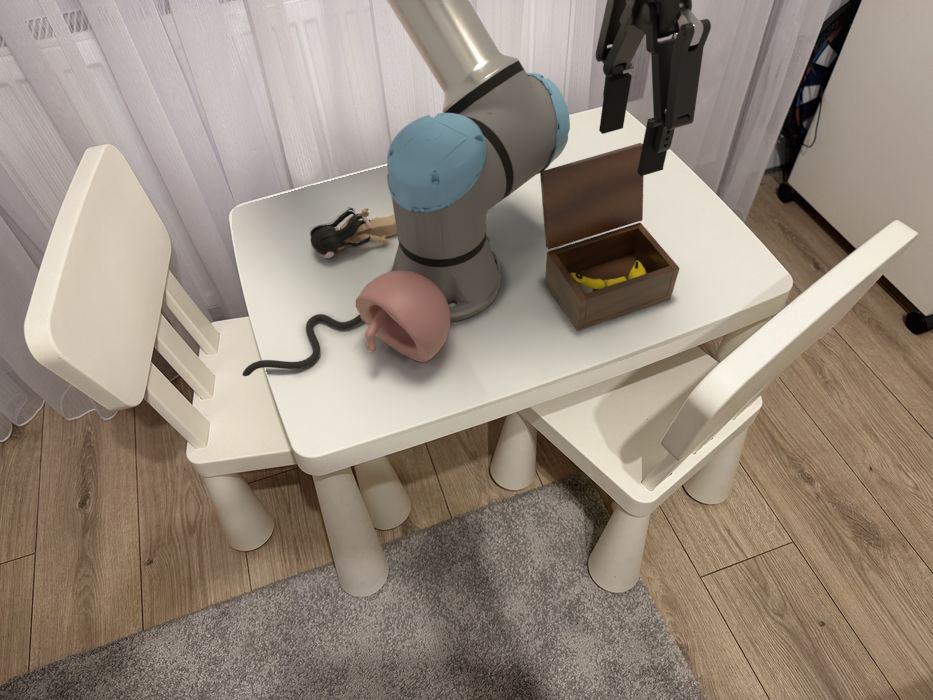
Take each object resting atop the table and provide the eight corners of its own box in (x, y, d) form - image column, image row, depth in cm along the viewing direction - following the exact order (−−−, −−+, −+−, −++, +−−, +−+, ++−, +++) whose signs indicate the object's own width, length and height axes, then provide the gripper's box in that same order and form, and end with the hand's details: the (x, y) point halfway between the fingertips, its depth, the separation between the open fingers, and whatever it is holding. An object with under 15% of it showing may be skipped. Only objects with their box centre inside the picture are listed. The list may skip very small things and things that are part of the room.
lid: (644, 144, 86) (640, 142, 87) (542, 173, 83) (539, 171, 84) (642, 220, 93) (639, 217, 93) (548, 250, 90) (545, 247, 90)
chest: (670, 298, 92) (679, 268, 88) (577, 331, 89) (581, 301, 85) (633, 253, 98) (640, 221, 93) (544, 282, 95) (546, 251, 90)
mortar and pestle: (479, 347, 82) (402, 400, 83) (451, 305, 92) (382, 353, 92) (429, 275, 75) (345, 333, 76) (404, 238, 85) (330, 289, 86)
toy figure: (393, 208, 107) (305, 242, 102) (392, 178, 101) (299, 211, 96) (416, 238, 103) (325, 274, 98) (416, 208, 98) (320, 244, 93)
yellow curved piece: (585, 310, 89) (584, 286, 87) (569, 291, 94) (568, 268, 93) (656, 296, 90) (657, 272, 88) (637, 278, 96) (637, 255, 94)
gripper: (785, -39, 53) (712, 194, 71) (645, -122, 65) (613, 95, 83) (702, -19, 51) (649, 214, 69) (575, -108, 63) (558, 110, 81)
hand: (629, 149), depth 76 cm, fingers open, 8 cm apart
